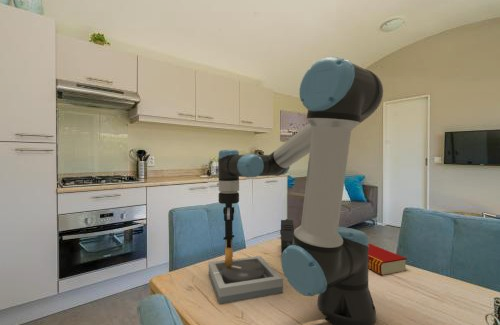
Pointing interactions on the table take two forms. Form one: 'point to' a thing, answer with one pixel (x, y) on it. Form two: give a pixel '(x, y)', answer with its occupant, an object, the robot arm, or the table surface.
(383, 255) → the book
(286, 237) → the tool
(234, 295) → the square crank box
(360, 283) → the robot arm
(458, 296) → the table surface
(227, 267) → the crank dial
